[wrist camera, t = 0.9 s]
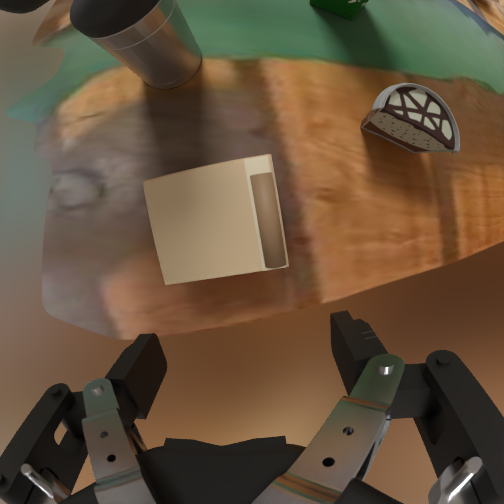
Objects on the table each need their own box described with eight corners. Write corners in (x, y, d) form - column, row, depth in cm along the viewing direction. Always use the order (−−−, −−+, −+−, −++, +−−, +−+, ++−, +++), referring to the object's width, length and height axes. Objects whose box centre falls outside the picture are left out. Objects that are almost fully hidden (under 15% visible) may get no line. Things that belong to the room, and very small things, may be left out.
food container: (428, 122, 32) (467, 110, 22) (421, 157, 33) (462, 152, 24) (359, 87, 31) (387, 61, 22) (350, 123, 33) (378, 105, 23)
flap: (144, 182, 28) (113, 182, 21) (269, 155, 27) (271, 145, 20) (166, 283, 30) (143, 308, 24) (286, 265, 29) (294, 288, 23)
